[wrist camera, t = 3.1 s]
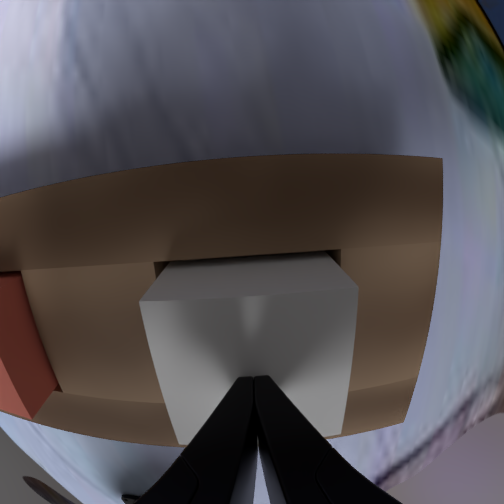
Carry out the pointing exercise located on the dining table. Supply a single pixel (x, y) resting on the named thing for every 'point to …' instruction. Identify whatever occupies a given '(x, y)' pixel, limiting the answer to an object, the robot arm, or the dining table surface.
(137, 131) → the dining table surface
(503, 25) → the electronic device
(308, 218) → the brown tray
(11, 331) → the salmon pink cube
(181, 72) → the dining table surface
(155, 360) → the pale grey cube
